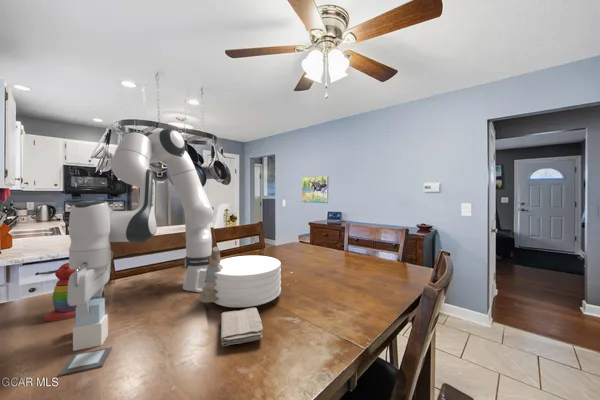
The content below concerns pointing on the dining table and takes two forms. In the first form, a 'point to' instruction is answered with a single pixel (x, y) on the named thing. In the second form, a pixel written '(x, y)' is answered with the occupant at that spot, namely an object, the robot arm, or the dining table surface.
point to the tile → (85, 361)
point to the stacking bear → (61, 296)
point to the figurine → (211, 277)
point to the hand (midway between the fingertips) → (91, 309)
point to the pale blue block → (92, 313)
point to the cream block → (90, 334)
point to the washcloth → (240, 326)
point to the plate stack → (248, 281)
